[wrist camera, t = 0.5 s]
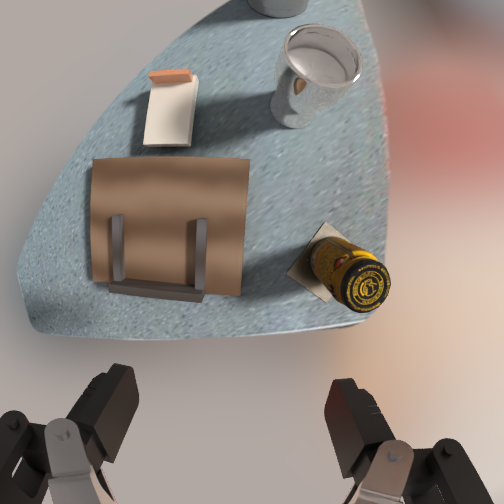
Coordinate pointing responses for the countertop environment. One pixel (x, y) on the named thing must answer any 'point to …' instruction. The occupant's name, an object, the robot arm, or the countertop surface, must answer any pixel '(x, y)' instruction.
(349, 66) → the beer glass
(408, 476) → the robot arm
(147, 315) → the countertop surface
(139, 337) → the countertop surface
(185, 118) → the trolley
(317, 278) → the condiment
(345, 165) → the countertop surface
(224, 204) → the dock
